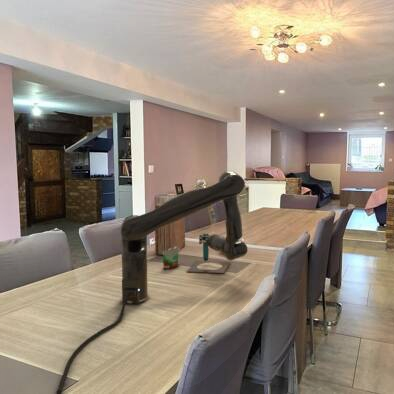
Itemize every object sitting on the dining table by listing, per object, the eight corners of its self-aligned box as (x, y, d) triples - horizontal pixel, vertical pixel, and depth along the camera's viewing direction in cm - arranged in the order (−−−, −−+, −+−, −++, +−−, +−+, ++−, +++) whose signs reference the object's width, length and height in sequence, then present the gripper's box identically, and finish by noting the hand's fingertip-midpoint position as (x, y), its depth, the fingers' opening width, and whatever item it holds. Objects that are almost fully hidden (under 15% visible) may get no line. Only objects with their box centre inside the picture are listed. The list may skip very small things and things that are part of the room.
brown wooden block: (170, 256, 195) (169, 204, 192) (155, 255, 196) (154, 204, 194) (185, 245, 221) (184, 200, 218) (171, 245, 222) (171, 199, 219)
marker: (207, 261, 175) (207, 234, 174) (202, 260, 175) (202, 234, 174) (209, 259, 178) (208, 233, 177) (204, 259, 178) (203, 233, 177)
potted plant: (173, 270, 169) (173, 251, 168) (162, 269, 170) (162, 250, 169) (184, 263, 181) (183, 245, 180) (173, 263, 182) (173, 244, 181)
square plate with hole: (223, 274, 165) (223, 272, 165) (187, 272, 167) (187, 271, 167) (229, 263, 183) (229, 262, 183) (197, 262, 185) (197, 260, 185)
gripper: (231, 234, 168) (215, 228, 182) (205, 237, 160) (190, 230, 174) (230, 248, 168) (215, 242, 183) (205, 252, 160) (190, 245, 174)
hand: (203, 236), depth 178 cm, fingers closed on marker, 2 cm apart
